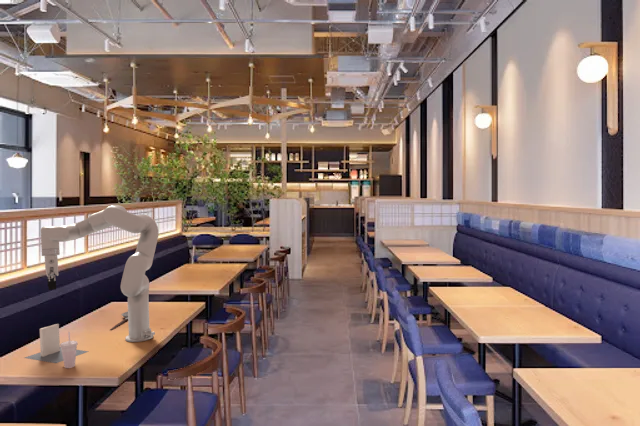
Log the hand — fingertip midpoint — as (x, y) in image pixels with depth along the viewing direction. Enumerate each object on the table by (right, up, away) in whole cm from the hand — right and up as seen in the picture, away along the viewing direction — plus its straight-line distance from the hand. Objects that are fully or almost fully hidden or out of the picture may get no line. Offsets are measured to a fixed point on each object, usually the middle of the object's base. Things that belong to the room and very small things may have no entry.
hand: (51, 287), depth 230 cm
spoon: (+20, -25, +35) cm, 48 cm away
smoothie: (+26, -27, -34) cm, 51 cm away
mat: (+13, -27, -20) cm, 35 cm away
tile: (+9, -26, -18) cm, 33 cm away
